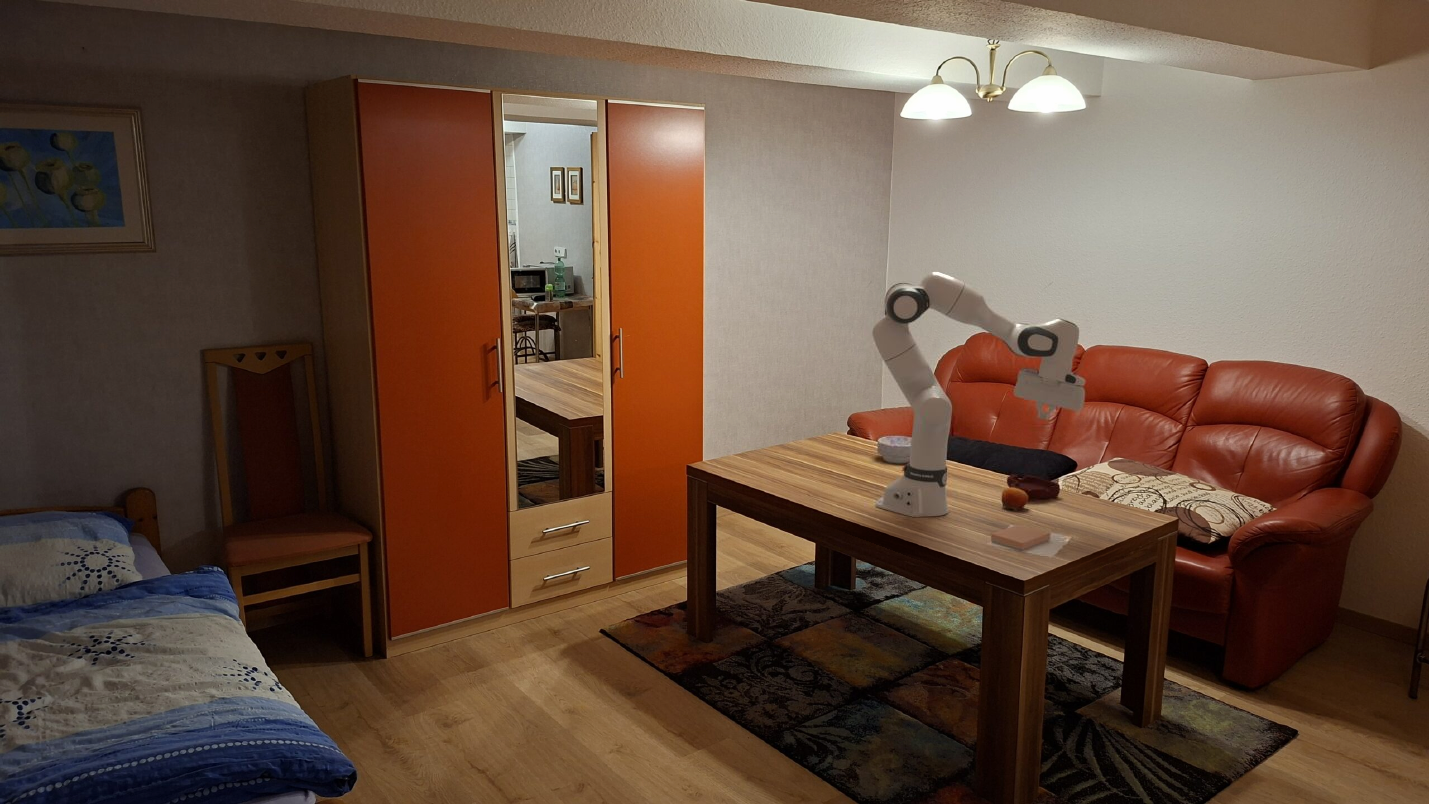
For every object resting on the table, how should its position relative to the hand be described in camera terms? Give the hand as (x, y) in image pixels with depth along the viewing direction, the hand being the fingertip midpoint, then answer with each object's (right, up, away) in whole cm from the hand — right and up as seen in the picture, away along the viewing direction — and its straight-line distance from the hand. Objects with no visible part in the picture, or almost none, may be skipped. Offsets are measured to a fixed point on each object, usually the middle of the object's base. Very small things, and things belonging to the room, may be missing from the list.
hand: (1042, 418), depth 286 cm
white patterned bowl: (-30, -17, +73) cm, 80 cm away
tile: (-6, -32, -12) cm, 35 cm away
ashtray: (+7, -27, +29) cm, 40 cm away
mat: (-9, -35, -15) cm, 39 cm away
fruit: (-4, -29, +15) cm, 33 cm away
